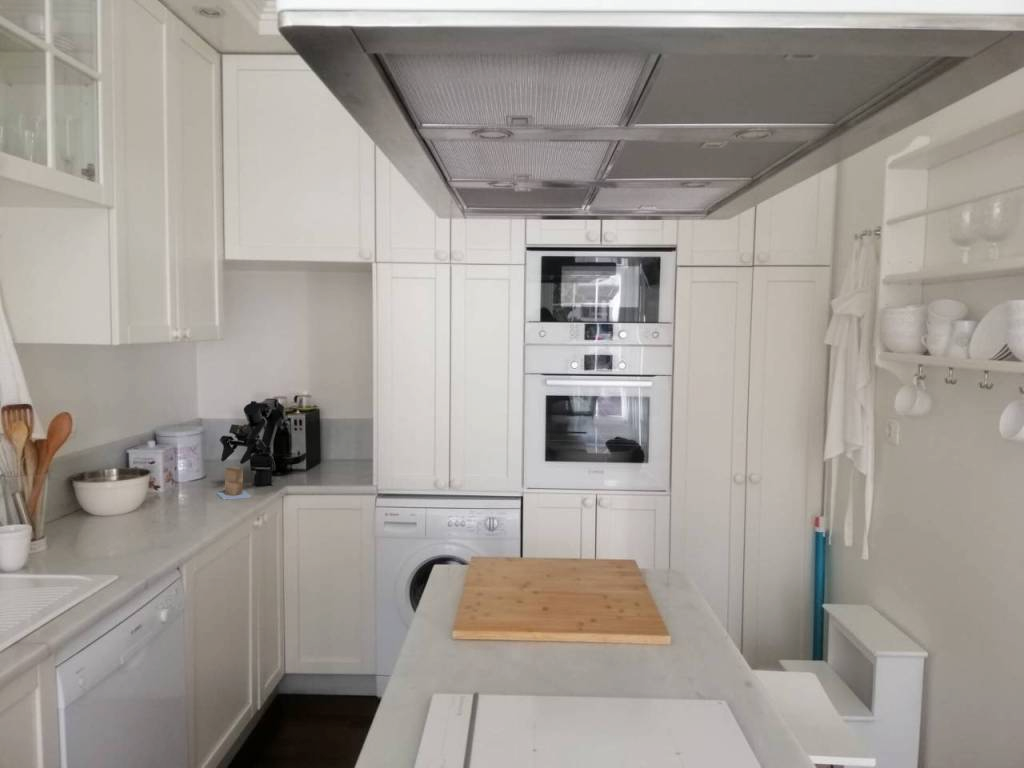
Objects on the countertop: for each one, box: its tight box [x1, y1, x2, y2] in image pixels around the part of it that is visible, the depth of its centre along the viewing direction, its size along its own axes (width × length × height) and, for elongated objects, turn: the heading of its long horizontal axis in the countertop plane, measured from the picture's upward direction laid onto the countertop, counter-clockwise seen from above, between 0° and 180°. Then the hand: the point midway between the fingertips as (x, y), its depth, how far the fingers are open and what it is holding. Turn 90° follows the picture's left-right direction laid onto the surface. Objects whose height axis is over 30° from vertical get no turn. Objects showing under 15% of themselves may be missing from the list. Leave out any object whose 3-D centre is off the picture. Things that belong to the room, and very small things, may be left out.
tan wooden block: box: [224, 466, 244, 496], centre depth 269 cm, size 4×4×10 cm
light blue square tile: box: [216, 490, 252, 501], centre depth 270 cm, size 10×10×1 cm
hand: (231, 462), depth 267 cm, fingers open, 9 cm apart
